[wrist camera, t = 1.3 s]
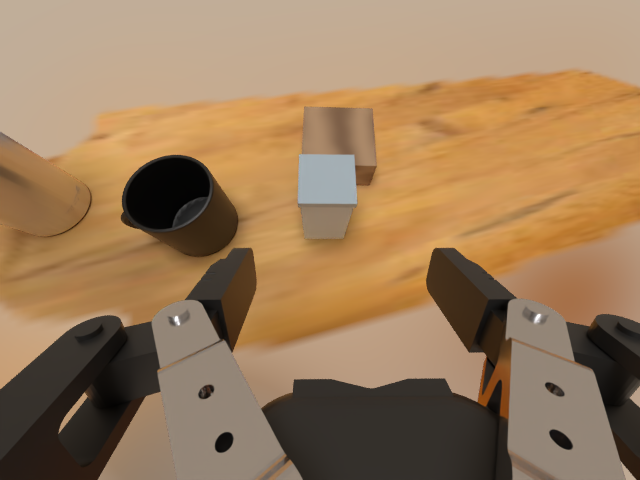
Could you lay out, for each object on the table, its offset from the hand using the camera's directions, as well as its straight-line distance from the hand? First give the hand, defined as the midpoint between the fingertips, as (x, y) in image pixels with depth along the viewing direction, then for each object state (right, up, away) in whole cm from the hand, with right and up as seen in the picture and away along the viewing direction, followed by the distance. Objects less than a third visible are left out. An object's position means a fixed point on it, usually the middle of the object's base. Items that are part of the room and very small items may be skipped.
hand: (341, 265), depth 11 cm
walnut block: (+2, +14, +28) cm, 31 cm away
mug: (-18, +3, +23) cm, 30 cm away
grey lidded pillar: (0, +4, +24) cm, 24 cm away
